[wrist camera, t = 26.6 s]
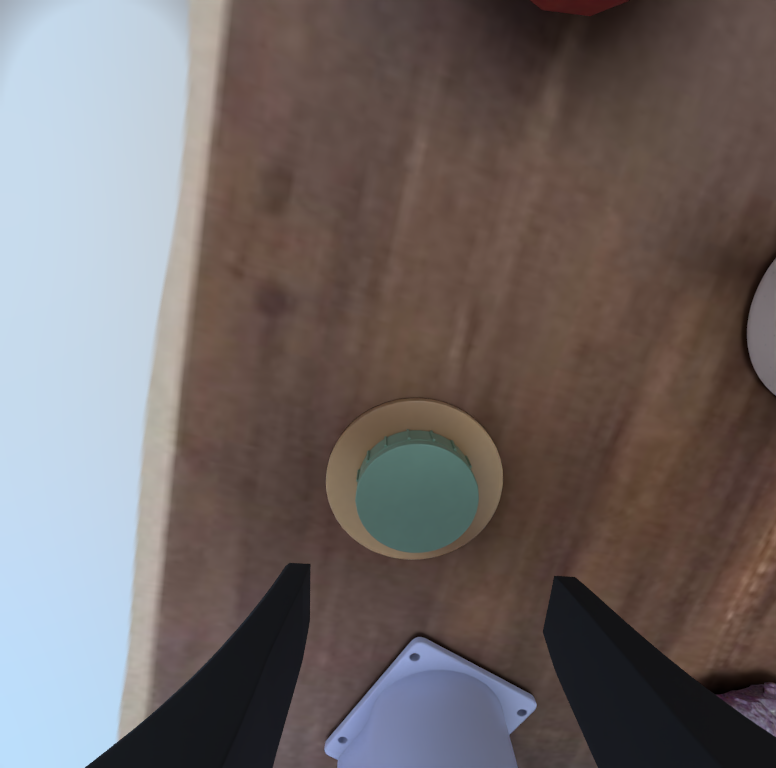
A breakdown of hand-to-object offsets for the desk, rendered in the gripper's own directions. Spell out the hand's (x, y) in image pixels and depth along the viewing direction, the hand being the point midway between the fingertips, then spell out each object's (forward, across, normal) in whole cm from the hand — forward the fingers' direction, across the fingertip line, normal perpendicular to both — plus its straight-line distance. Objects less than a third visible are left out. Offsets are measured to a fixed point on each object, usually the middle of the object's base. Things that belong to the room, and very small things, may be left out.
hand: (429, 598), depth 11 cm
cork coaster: (+7, 0, 0) cm, 7 cm away
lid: (+5, 0, 0) cm, 5 cm away
